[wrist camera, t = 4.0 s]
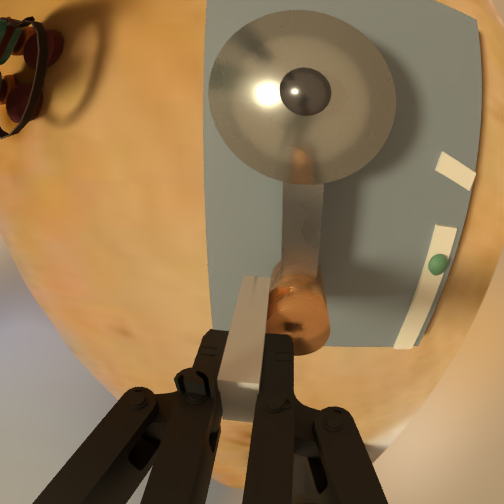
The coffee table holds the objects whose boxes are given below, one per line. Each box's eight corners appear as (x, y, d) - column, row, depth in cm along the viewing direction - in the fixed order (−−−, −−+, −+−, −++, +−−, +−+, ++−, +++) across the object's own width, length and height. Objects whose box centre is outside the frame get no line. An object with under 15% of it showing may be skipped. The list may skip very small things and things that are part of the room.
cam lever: (219, 28, 11) (187, -6, 7) (377, 34, 10) (414, 4, 6) (230, 293, 18) (212, 349, 14) (357, 297, 17) (373, 355, 13)
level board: (412, 333, 20) (420, 351, 18) (217, 323, 22) (211, 342, 20) (465, 24, 9) (481, 18, 7) (215, -17, 11) (206, -31, 9)
